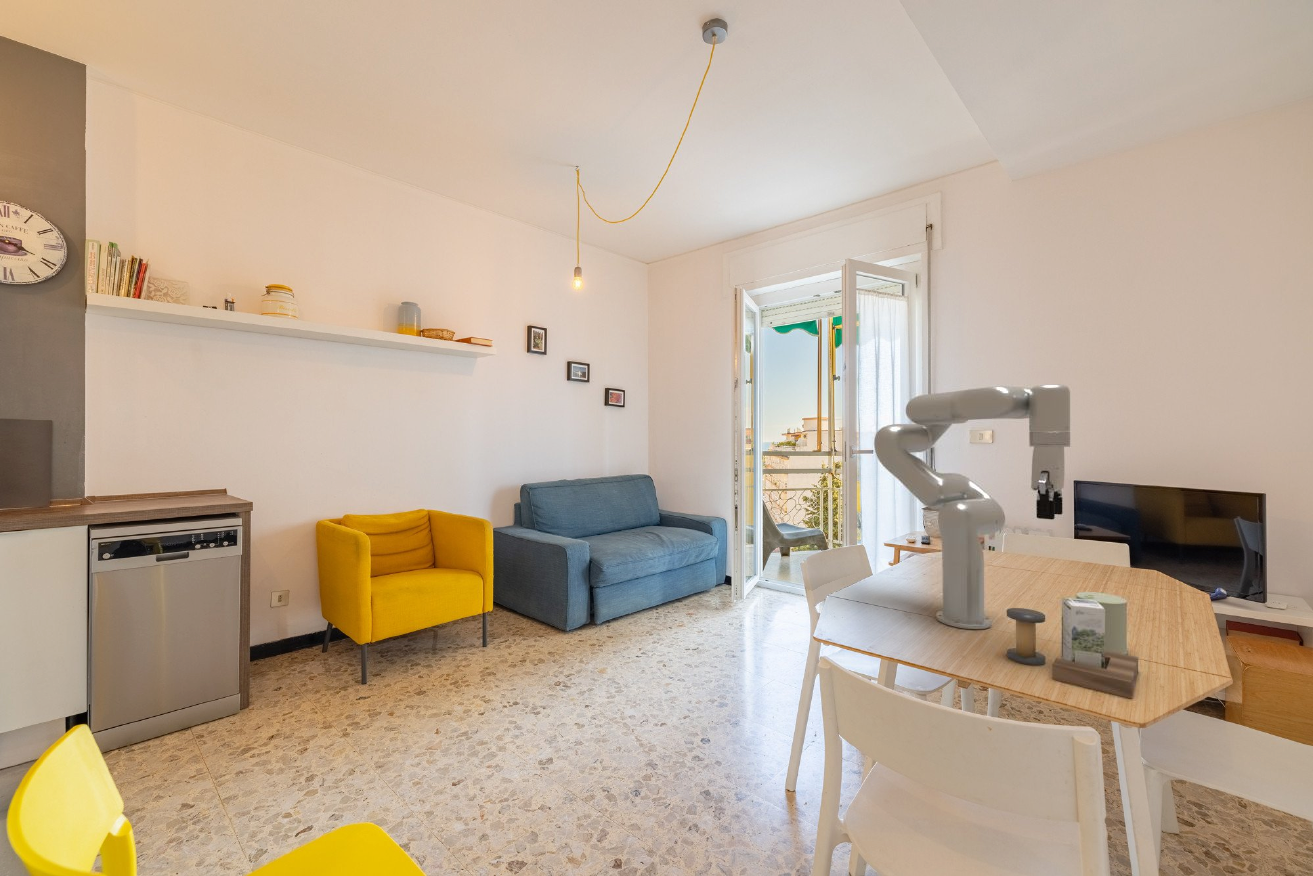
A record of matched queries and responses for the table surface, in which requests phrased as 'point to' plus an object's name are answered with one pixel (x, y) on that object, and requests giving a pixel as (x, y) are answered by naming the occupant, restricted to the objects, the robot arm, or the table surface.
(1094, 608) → the syrup box
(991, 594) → the table surface
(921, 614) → the table surface
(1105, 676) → the notched board
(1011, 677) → the table surface
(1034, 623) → the gray-flanged bobbin
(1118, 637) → the can
